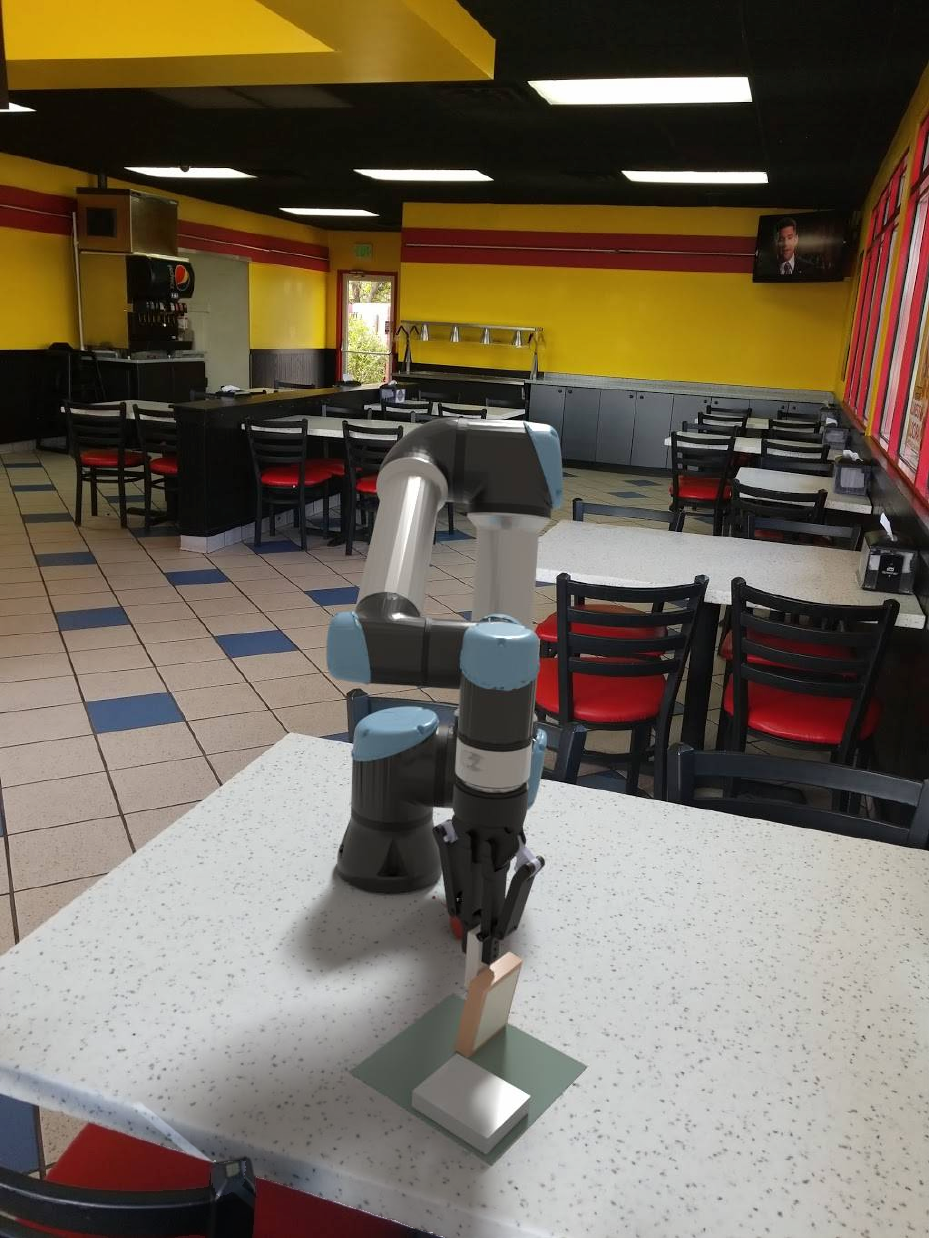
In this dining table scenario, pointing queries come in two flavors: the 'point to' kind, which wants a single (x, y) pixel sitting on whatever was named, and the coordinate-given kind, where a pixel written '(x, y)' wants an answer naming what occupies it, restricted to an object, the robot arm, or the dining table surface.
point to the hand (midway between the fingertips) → (477, 983)
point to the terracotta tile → (488, 1004)
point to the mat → (502, 1056)
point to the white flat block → (471, 1102)
